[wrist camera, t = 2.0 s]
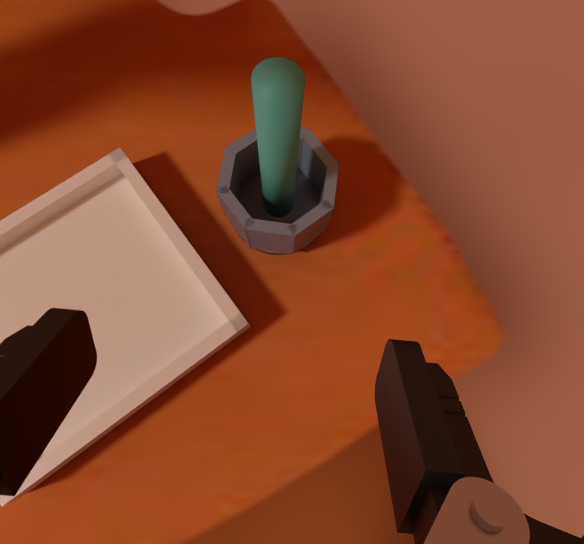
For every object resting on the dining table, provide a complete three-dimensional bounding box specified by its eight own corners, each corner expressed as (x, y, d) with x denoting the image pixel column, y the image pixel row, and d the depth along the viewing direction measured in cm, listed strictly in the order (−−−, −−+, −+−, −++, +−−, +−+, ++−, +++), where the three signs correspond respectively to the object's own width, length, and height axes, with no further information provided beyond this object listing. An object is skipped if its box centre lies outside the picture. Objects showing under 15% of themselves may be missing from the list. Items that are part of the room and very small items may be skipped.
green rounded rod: (257, 200, 31) (240, 74, 17) (281, 183, 31) (283, 48, 18) (275, 223, 30) (272, 113, 17) (299, 206, 31) (315, 85, 17)
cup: (210, 198, 32) (196, 165, 26) (288, 146, 33) (290, 105, 28) (268, 275, 31) (266, 257, 25) (347, 217, 32) (360, 189, 26)
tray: (-84, 298, 29) (-117, 292, 27) (132, 163, 32) (119, 147, 30) (27, 493, 27) (1, 506, 24) (251, 326, 30) (248, 323, 27)
